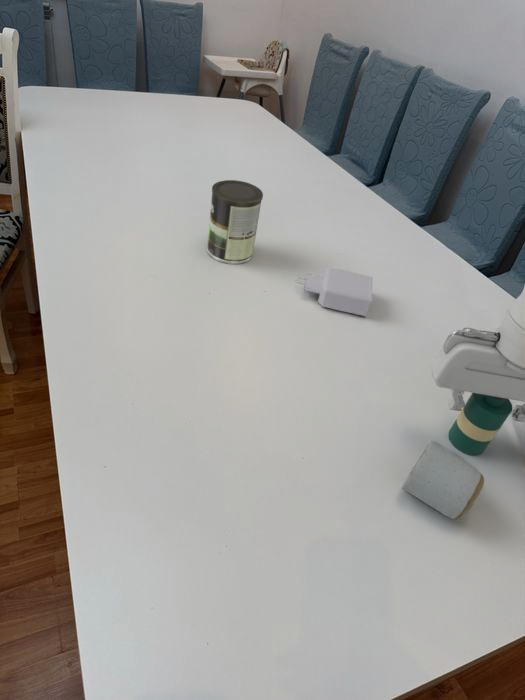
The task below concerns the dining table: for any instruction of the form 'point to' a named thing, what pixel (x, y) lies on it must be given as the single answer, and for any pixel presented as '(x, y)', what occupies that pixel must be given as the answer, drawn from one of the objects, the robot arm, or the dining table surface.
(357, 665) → the dining table surface
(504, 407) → the bottle
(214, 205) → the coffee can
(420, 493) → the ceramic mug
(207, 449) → the dining table surface
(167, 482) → the dining table surface
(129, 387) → the dining table surface
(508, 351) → the robot arm
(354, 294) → the charger
